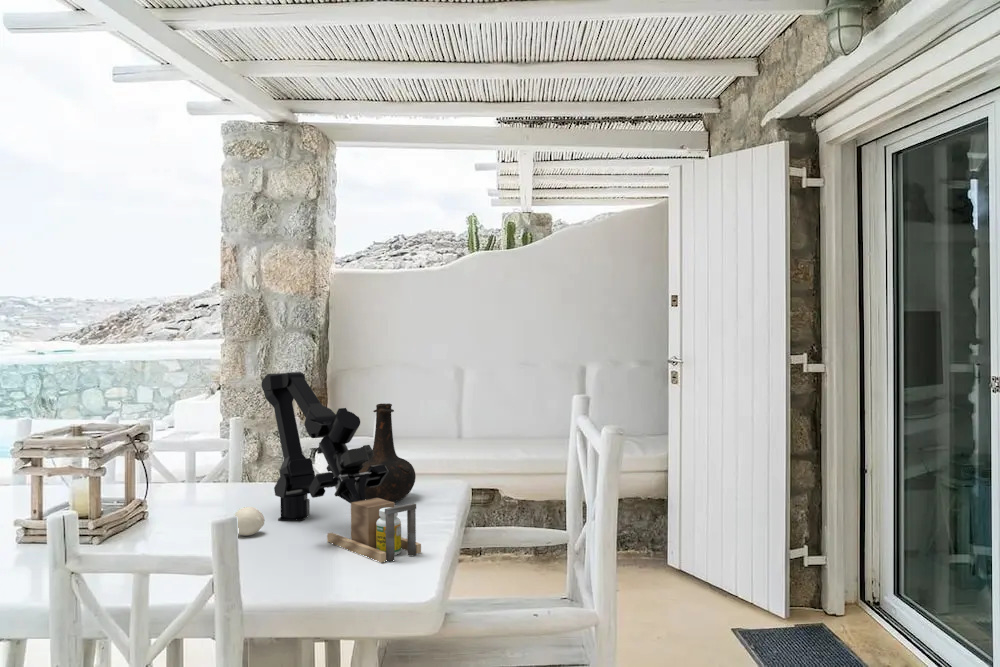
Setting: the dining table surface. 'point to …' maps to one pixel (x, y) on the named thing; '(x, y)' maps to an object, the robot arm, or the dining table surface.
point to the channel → (389, 555)
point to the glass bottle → (388, 461)
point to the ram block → (366, 519)
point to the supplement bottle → (382, 532)
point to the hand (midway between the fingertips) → (363, 509)
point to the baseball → (249, 520)
